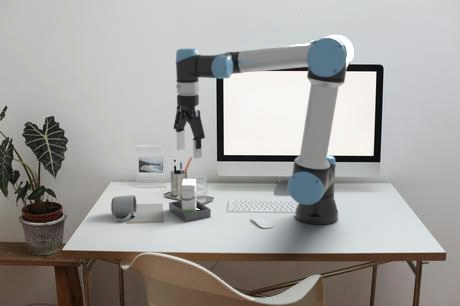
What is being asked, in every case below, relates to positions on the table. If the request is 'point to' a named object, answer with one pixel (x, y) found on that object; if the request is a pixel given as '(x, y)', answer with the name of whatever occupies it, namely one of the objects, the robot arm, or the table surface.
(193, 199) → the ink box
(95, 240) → the table surface
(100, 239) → the table surface
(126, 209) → the ceramic mug
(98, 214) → the table surface
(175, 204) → the tray
